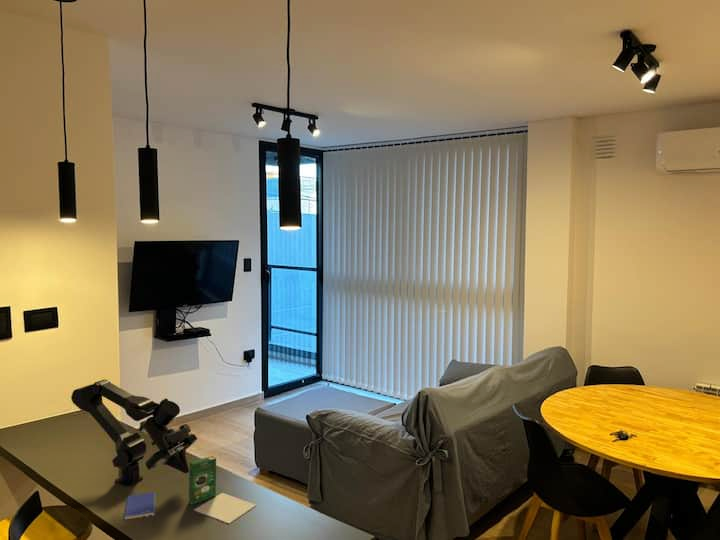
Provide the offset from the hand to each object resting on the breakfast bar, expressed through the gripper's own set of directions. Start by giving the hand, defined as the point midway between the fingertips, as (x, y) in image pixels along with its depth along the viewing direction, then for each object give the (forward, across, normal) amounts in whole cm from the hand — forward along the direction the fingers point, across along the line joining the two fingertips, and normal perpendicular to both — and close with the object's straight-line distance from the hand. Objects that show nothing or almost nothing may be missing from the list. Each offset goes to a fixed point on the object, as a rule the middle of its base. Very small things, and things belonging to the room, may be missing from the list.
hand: (187, 472), depth 175 cm
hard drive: (0, -11, +12) cm, 17 cm away
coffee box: (+10, 0, +1) cm, 10 cm away
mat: (+16, -2, -6) cm, 17 cm away
